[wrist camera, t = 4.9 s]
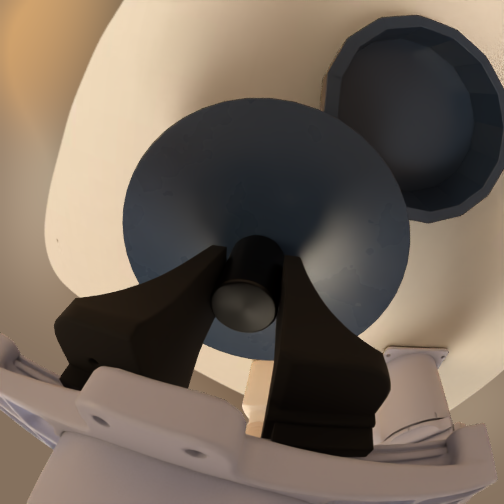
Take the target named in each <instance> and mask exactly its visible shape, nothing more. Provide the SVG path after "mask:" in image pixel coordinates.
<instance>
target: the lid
mask: <svg viewBox="0 0 504 504" xmlns="http://www.w3.org/2000/svg"><path fill="white" fill-rule="evenodd" d="M123 235H124V242H125V247H126V252H127V256H128V259H129V262H130V264H131V267H132V270H133V272H134V274H135V276H136V278H137V280H138V282H139V284H142V283H145V282H147V281H149V280H152V279H154V278H156V277H159V276H161V275H163V274H165V273H167V272H169V271H170V270H172V269H174V268H176V267H178V266H179V265H181V264H183V263H185V262H186V261H188V260H189V259H191V258H193V257H194V256H196V255H197V254H199V253H200V252H202V251H203V250H205V249H207V248H208V247H210V246H212V245H217V246H225V247H227V260H226V264H225V266H224V268H223V270H222V273H221V275H220V277H219V279H218V281H217V283H216V285H215V288H214V290H213V292H212V294H211V298H210V305H211V309H212V312H213V314H214V315H215V319H214V321H213V323H212V325H211V327H210V329H209V331H208V334H207V336H206V338H205V340H204V342H203V344H205V345H207V346H209V347H212V348H214V349H217V350H219V351H222V352H225V353H228V354H231V355H235V356H239V357H244V358H248V359H256V360H266V361H274V351H275V329H276V316H277V312H278V306H279V299H280V290H281V278H282V271H283V264H284V257H285V255H290V256H297V257H300V258H301V259H302V262H303V265H304V267H305V270H306V272H307V274H308V276H309V278H310V280H311V282H312V284H313V286H314V287H315V289H316V291H317V292H318V294H319V296H320V297H321V299H322V300H323V302H324V303H325V304H326V306H327V307H328V308H329V310H330V311H331V312H332V313H333V314H334V315H335V316H336V317H337V318H338V319H339V320H340V321H341V322H342V323H343V324H344V325H345V326H346V327H347V328H348V329H349V330H350V331H351V332H353V333H354V334H355V335H356V336H358V335H360V334H361V333H362V332H364V331H365V330H366V329H367V328H368V327H370V326H371V325H372V324H373V323H374V322H375V321H376V320H377V319H378V318H379V317H380V316H381V314H382V313H383V312H384V311H385V310H386V308H387V307H388V306H389V304H390V302H391V301H392V299H393V298H394V296H395V294H396V293H397V290H398V288H399V286H400V284H401V282H402V279H403V276H404V273H405V270H406V266H407V262H408V256H409V248H410V224H409V218H408V213H407V208H406V204H405V201H404V198H403V195H402V192H401V189H400V187H399V185H398V183H397V181H396V179H395V177H394V175H393V173H392V172H391V170H390V168H389V167H388V165H387V164H386V162H385V161H384V160H383V158H382V157H381V156H380V155H379V153H378V152H377V151H376V150H375V149H374V148H373V147H372V146H371V145H370V144H369V143H368V142H367V141H366V140H365V139H364V138H363V137H362V136H361V135H360V134H359V133H357V132H356V131H355V130H353V129H352V128H350V127H349V126H348V125H346V124H345V123H343V122H342V121H340V120H339V119H337V118H335V117H333V116H331V115H329V114H327V113H325V112H323V111H321V110H318V109H316V108H313V107H310V106H306V105H303V104H300V103H297V102H292V101H286V100H280V99H273V98H244V99H237V100H230V101H224V102H221V103H218V104H214V105H211V106H208V107H205V108H202V109H200V110H198V111H196V112H194V113H192V114H190V115H188V116H186V117H184V118H182V119H181V120H179V121H178V122H177V123H175V124H174V125H172V126H171V127H169V128H168V129H167V130H166V131H165V132H164V133H162V134H161V135H160V136H159V137H158V138H157V139H156V140H155V141H154V142H153V143H152V145H151V146H150V147H149V148H148V150H147V151H146V152H145V154H144V155H143V156H142V158H141V160H140V161H139V163H138V165H137V167H136V169H135V171H134V173H133V175H132V177H131V180H130V183H129V186H128V189H127V192H126V197H125V202H124V207H123Z"/></svg>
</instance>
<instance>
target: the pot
mask: <svg viewBox="0 0 504 504" xmlns="http://www.w3.org/2000/svg"><path fill="white" fill-rule="evenodd" d="M320 110H321V111H323V112H325V113H327V114H329V115H331V116H333V117H335V118H337V119H339V120H340V121H342V122H343V123H345V124H346V125H348V126H349V127H350V128H352V129H353V130H355V131H356V132H357V133H359V134H360V135H361V136H362V137H363V138H364V139H365V140H366V141H367V142H368V143H369V144H370V145H371V146H372V147H373V148H374V149H375V150H376V151H377V152H378V153H379V155H380V156H381V157H382V158H383V160H384V161H385V162H386V164H387V165H388V167H389V168H390V170H391V172H392V173H393V175H394V177H395V179H396V181H397V183H398V185H399V187H400V189H401V192H402V195H403V198H404V201H405V204H406V208H407V213H408V218H409V220H413V221H418V222H424V223H433V222H437V221H441V220H446V219H450V218H454V217H458V216H461V215H463V214H464V213H466V212H467V211H468V210H470V209H471V208H472V207H474V206H475V205H476V204H478V203H479V202H480V201H482V200H483V199H484V198H486V197H487V195H489V193H490V192H491V190H492V188H493V187H494V185H495V183H496V182H497V180H498V178H499V176H500V175H501V173H502V171H503V169H504V88H503V86H502V84H501V82H500V80H499V78H498V77H497V75H496V73H495V71H494V69H493V67H492V66H491V64H490V62H489V60H488V59H487V57H486V56H485V55H484V54H483V53H482V52H481V51H480V50H479V49H478V48H477V47H476V46H475V45H474V44H473V43H471V42H470V41H469V40H468V39H467V38H466V37H465V36H464V35H462V34H461V33H460V32H459V31H458V30H456V29H454V28H452V27H449V26H447V25H444V24H442V23H439V22H436V21H434V20H431V19H428V18H425V17H423V16H419V15H407V16H392V17H381V18H379V19H377V20H375V21H374V22H372V23H370V24H369V25H367V26H365V27H364V28H362V29H361V30H359V31H358V32H356V33H354V34H353V35H351V36H350V37H348V38H347V39H346V41H345V42H344V44H343V45H342V47H341V48H340V50H339V51H338V53H337V55H336V56H335V58H334V60H333V62H332V63H331V65H330V67H329V69H328V70H327V72H326V74H325V76H324V77H323V80H322V91H321V102H320Z"/></svg>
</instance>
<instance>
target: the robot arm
mask: <svg viewBox="0 0 504 504" xmlns="http://www.w3.org/2000/svg"><path fill="white" fill-rule="evenodd" d="M226 260H227V247H225V246H217V245H212V246H210V247H208V248H207V249H205V250H203V251H202V252H200V253H199V254H197V255H196V256H194V257H193V258H191V259H189V260H188V261H186V262H185V263H183V264H181V265H179V266H178V267H176V268H174V269H172V270H170V271H169V272H167V273H165V274H163V275H161V276H159V277H156V278H154V279H152V280H149V281H147V282H145V283H142V284H139V285H136V286H133V287H130V288H127V289H124V290H120V291H116V292H112V293H107V294H102V295H97V296H90V297H83V298H75V299H74V301H73V302H72V303H71V304H70V305H69V306H68V307H67V308H66V309H65V310H64V312H63V313H62V314H61V315H60V316H59V317H58V318H57V319H56V321H55V324H54V329H55V335H56V337H57V340H58V342H59V344H60V346H61V348H62V350H63V352H64V354H65V356H66V358H67V360H68V362H69V365H68V367H67V368H66V369H65V371H64V372H63V374H62V375H61V376H60V375H58V374H56V373H54V372H52V371H50V370H48V369H46V368H44V367H42V366H41V365H38V364H37V363H35V362H33V361H31V360H30V359H28V358H26V357H24V356H23V355H21V354H20V352H19V350H18V348H17V346H16V345H15V343H14V342H13V341H12V340H11V339H10V338H9V337H7V336H5V335H4V334H2V333H1V332H0V410H2V411H3V412H4V413H5V414H7V415H8V416H9V417H10V418H11V419H13V420H14V421H15V422H16V423H18V424H19V425H20V426H21V427H23V428H24V429H25V430H27V431H28V432H29V433H31V434H32V435H34V436H35V437H36V438H38V439H39V440H40V441H42V442H43V443H44V444H46V445H47V446H49V447H50V448H52V449H53V452H52V454H51V456H50V458H49V460H48V461H47V463H46V465H45V467H44V469H43V471H42V473H41V475H40V477H39V479H38V481H37V483H36V485H35V486H34V489H33V490H32V493H31V495H30V497H29V499H28V501H27V503H26V504H466V503H467V502H468V501H469V500H470V499H471V497H472V496H473V495H474V494H476V493H478V492H479V491H481V490H483V489H485V488H487V487H488V486H490V485H491V484H493V483H495V482H496V481H497V473H496V468H495V463H494V458H493V454H492V449H491V445H490V441H489V437H488V433H487V429H486V426H485V423H480V424H475V425H469V426H466V424H464V423H461V422H460V421H458V422H456V423H455V424H453V422H452V420H451V416H450V412H449V408H448V404H447V400H446V397H445V393H444V389H443V386H442V383H441V379H440V376H439V373H438V368H439V367H440V365H441V364H442V362H443V361H444V359H445V358H446V356H447V355H448V353H449V351H448V349H442V348H409V347H388V348H386V350H385V351H384V353H381V352H379V351H378V350H376V349H375V348H373V347H372V346H370V345H369V344H367V343H366V342H364V341H363V340H361V339H360V338H359V337H358V336H356V335H355V334H354V333H353V332H351V331H350V330H349V329H348V328H347V327H346V326H345V325H344V324H343V323H342V322H341V321H340V320H339V319H338V318H337V317H336V316H335V315H334V314H333V313H332V312H331V311H330V310H329V308H328V307H327V306H326V304H325V303H324V302H323V300H322V299H321V297H320V296H319V294H318V292H317V291H316V289H315V287H314V286H313V284H312V282H311V280H310V278H309V276H308V274H307V272H306V270H305V267H304V265H303V262H302V259H301V258H300V257H297V256H290V255H285V257H284V264H283V271H282V278H281V290H280V299H279V306H278V312H277V316H276V329H275V351H274V364H273V371H272V377H271V383H270V389H269V395H268V400H267V406H266V411H265V417H264V422H263V428H262V433H261V438H258V437H255V436H252V435H248V434H246V433H245V431H246V421H245V419H244V417H243V415H242V413H241V411H240V410H239V409H237V408H236V407H234V406H233V405H231V404H230V403H229V402H227V401H226V400H224V399H221V398H218V397H215V396H212V395H209V394H207V393H204V392H199V391H195V390H191V389H188V387H189V383H190V380H191V376H192V373H193V370H194V367H195V364H196V361H197V357H198V354H199V352H200V349H201V347H202V344H203V342H204V340H205V338H206V336H207V334H208V331H209V329H210V327H211V325H212V323H213V321H214V319H215V315H214V314H213V312H212V309H211V305H210V298H211V294H212V292H213V290H214V288H215V285H216V283H217V281H218V279H219V277H220V275H221V273H222V270H223V268H224V266H225V264H226Z"/></svg>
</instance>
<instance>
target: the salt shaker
mask: <svg viewBox="0 0 504 504" xmlns="http://www.w3.org/2000/svg"><path fill="white" fill-rule="evenodd" d="M273 364H274V361H266V360H258V361H254V362H253V363H252V364H251V369H250V373H249V377H248V382H247V386H246V390H245V395H244V399H243V403H242V408H243V410H244V412H245V414H246V415H247V417H248V418H249V423H248V424H247V427H246V432H245V433H246V434H248V435H252V436H255V437H258V438H261V433H262V428H263V422H264V417H265V411H266V406H267V400H268V395H269V389H270V383H271V377H272V371H273Z"/></svg>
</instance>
